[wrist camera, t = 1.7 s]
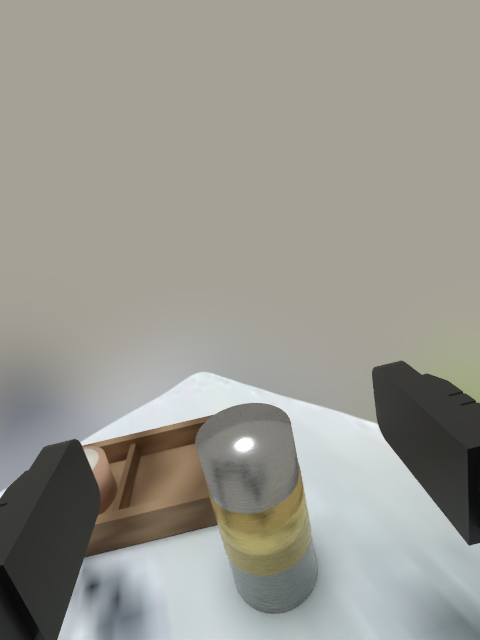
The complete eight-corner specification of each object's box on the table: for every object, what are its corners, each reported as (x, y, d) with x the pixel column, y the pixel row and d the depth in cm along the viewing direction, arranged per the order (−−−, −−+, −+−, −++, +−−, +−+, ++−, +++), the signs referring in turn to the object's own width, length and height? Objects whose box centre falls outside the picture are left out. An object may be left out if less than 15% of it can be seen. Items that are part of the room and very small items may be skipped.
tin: (238, 624, 24) (193, 476, 20) (230, 541, 29) (195, 414, 26) (330, 601, 24) (303, 450, 20) (304, 523, 30) (280, 394, 26)
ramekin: (39, 536, 33) (21, 501, 32) (64, 485, 39) (49, 453, 38) (109, 519, 33) (94, 483, 32) (123, 470, 39) (111, 438, 38)
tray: (6, 576, 31) (-9, 549, 30) (58, 474, 42) (49, 453, 41) (241, 518, 31) (233, 491, 30) (230, 434, 43) (224, 412, 42)
